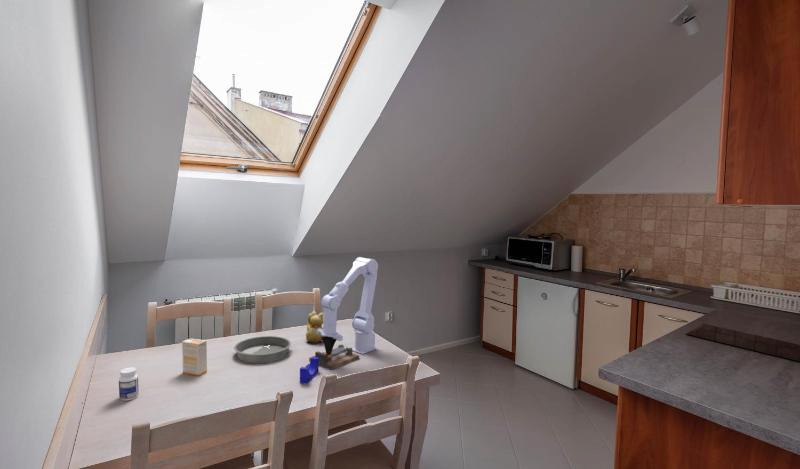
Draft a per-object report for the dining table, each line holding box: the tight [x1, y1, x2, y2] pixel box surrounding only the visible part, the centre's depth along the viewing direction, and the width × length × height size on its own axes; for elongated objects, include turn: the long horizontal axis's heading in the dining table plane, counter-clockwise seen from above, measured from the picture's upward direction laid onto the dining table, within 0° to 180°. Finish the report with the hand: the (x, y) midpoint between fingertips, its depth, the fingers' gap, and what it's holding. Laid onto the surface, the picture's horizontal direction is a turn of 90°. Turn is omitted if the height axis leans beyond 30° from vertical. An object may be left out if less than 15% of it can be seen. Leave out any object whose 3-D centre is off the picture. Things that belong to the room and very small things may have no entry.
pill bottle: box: [118, 366, 140, 402], centre depth 147 cm, size 6×6×10 cm
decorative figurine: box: [305, 310, 324, 344], centre depth 209 cm, size 10×8×15 cm
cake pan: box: [233, 335, 292, 364], centre depth 192 cm, size 25×25×4 cm
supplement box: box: [181, 337, 208, 377], centre depth 169 cm, size 8×5×13 cm, turn 71°
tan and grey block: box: [322, 345, 349, 358], centre depth 187 cm, size 14×4×1 cm, turn 142°
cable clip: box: [299, 356, 320, 385], centre depth 169 cm, size 12×4×6 cm, turn 170°
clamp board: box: [308, 344, 360, 370], centre depth 187 cm, size 17×14×5 cm
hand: (328, 353), depth 184 cm, fingers closed, pressing on tan and grey block
